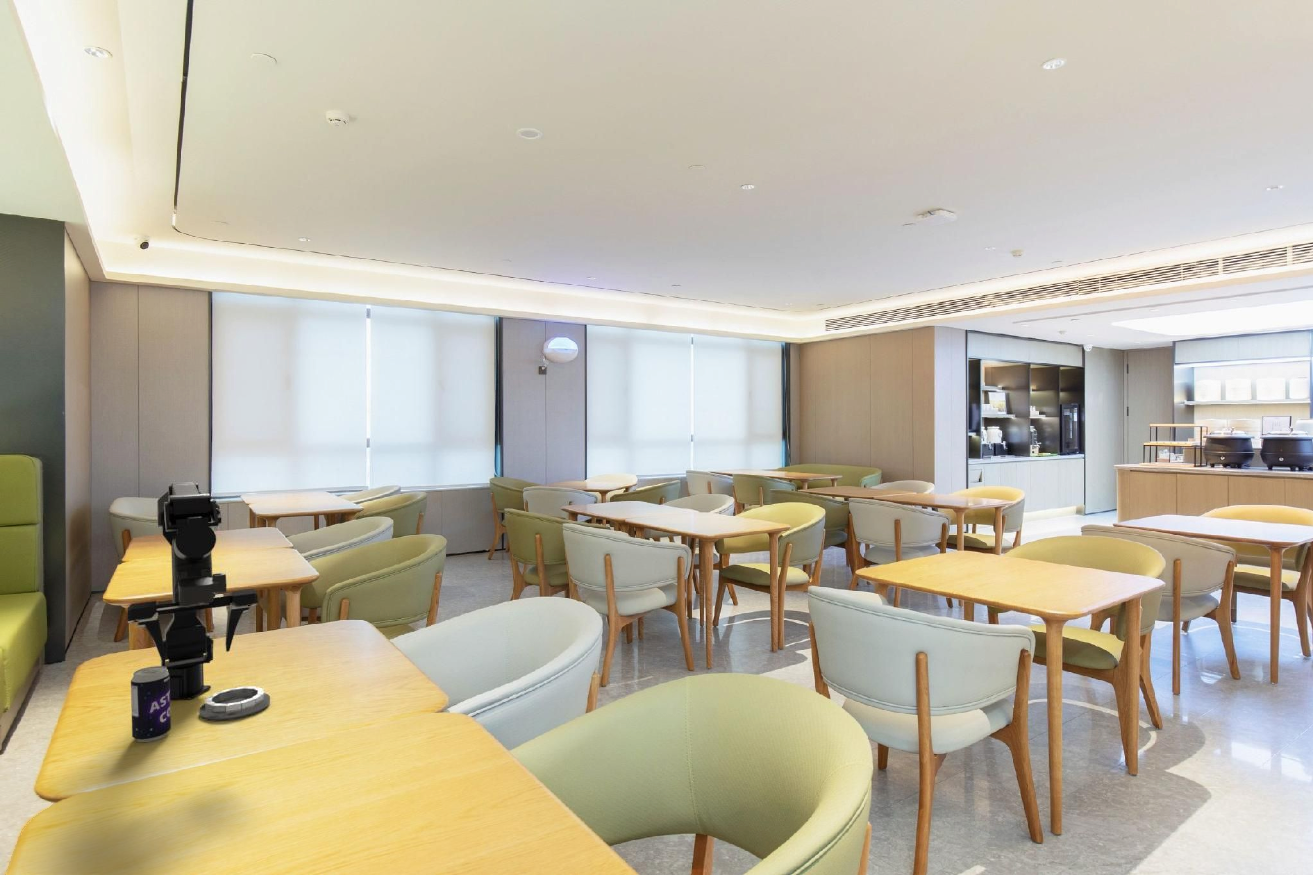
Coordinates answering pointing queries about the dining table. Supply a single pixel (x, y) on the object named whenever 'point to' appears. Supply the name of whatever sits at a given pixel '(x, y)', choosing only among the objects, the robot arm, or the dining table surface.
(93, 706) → the dining table surface
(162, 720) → the beverage can
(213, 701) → the collar base
